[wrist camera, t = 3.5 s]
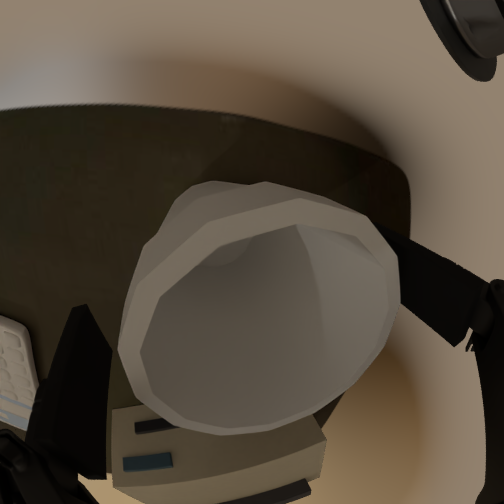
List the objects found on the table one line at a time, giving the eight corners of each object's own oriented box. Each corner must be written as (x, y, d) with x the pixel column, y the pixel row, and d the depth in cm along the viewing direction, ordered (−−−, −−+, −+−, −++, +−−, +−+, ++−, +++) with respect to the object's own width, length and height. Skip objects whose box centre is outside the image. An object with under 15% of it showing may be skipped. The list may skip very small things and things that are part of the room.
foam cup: (120, 241, 18) (75, 390, 6) (200, 130, 17) (269, 113, 5) (223, 302, 22) (281, 443, 11) (298, 212, 21) (427, 301, 10)
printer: (284, 363, 27) (337, 455, 17) (291, 423, 34) (325, 488, 23) (110, 407, 24) (111, 503, 13) (160, 456, 30) (173, 526, 19)
